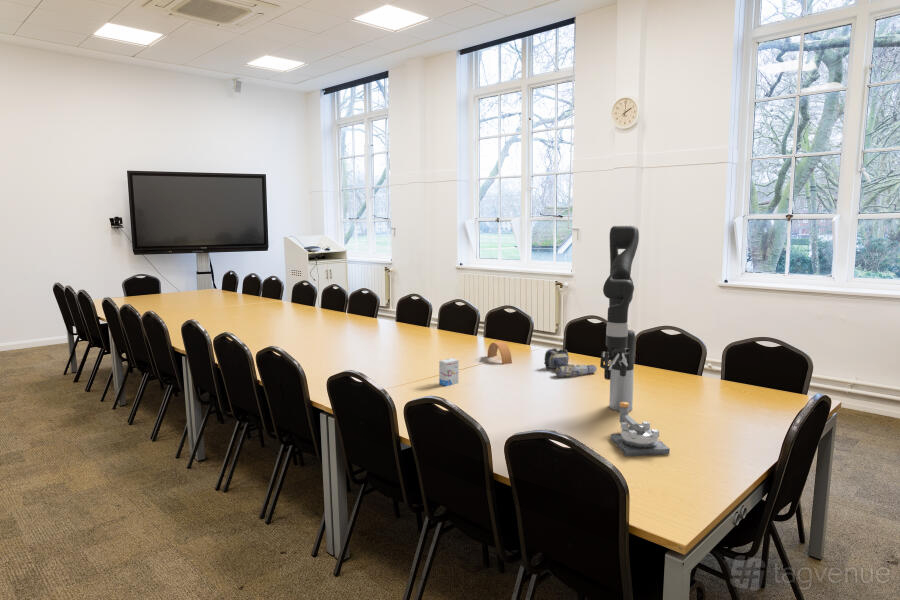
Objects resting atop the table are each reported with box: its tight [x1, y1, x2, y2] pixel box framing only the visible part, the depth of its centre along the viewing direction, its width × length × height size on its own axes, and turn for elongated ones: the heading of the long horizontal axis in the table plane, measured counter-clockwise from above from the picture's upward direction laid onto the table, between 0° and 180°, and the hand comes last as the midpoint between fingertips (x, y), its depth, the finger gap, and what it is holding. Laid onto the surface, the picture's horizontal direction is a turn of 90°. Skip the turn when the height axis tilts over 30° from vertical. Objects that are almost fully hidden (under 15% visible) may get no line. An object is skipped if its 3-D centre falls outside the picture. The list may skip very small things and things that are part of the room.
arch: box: [487, 341, 513, 365], centre depth 325 cm, size 6×20×10 cm, turn 20°
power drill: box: [544, 347, 598, 378], centre depth 299 cm, size 22×23×11 cm
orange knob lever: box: [619, 402, 660, 447], centre depth 205 cm, size 23×12×8 cm, turn 4°
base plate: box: [610, 433, 671, 457], centre depth 201 cm, size 15×15×2 cm
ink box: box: [438, 357, 460, 387], centre depth 280 cm, size 9×5×12 cm, turn 131°
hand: (615, 377), depth 212 cm, fingers open, 8 cm apart
